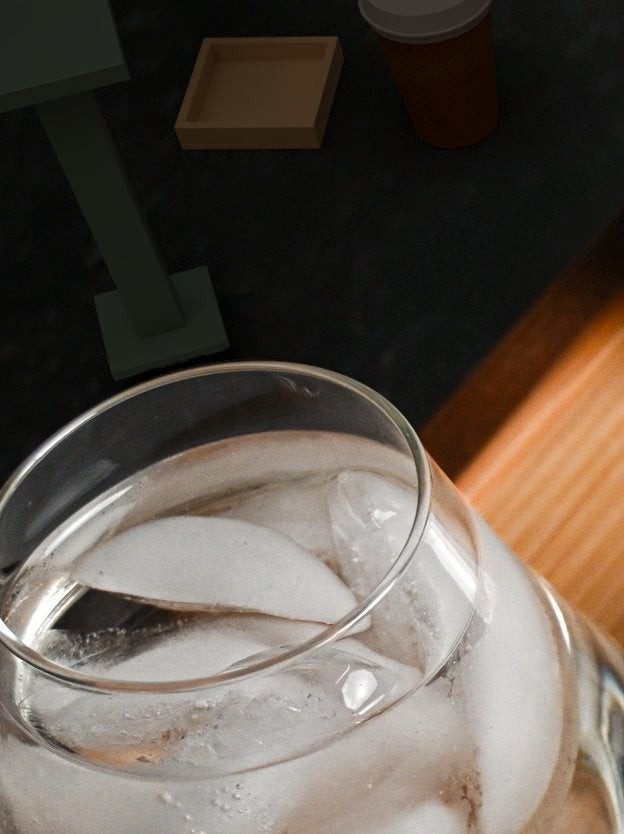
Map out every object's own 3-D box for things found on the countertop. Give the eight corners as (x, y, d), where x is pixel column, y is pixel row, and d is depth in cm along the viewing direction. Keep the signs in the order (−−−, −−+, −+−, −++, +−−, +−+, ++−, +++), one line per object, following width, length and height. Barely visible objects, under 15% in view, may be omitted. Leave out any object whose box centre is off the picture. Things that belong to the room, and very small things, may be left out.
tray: (320, 149, 142) (313, 126, 141) (182, 150, 143) (173, 127, 141) (344, 58, 148) (338, 36, 146) (211, 60, 148) (203, 37, 147)
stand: (108, 388, 130) (-32, 102, 111) (88, 301, 135) (-49, 12, 115) (239, 351, 131) (124, 62, 112) (215, 266, 136) (100, -26, 117)
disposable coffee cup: (372, 152, 142) (331, 8, 132) (422, 71, 147) (386, -74, 136) (492, 173, 140) (460, 29, 130) (539, 90, 145) (511, -56, 135)
